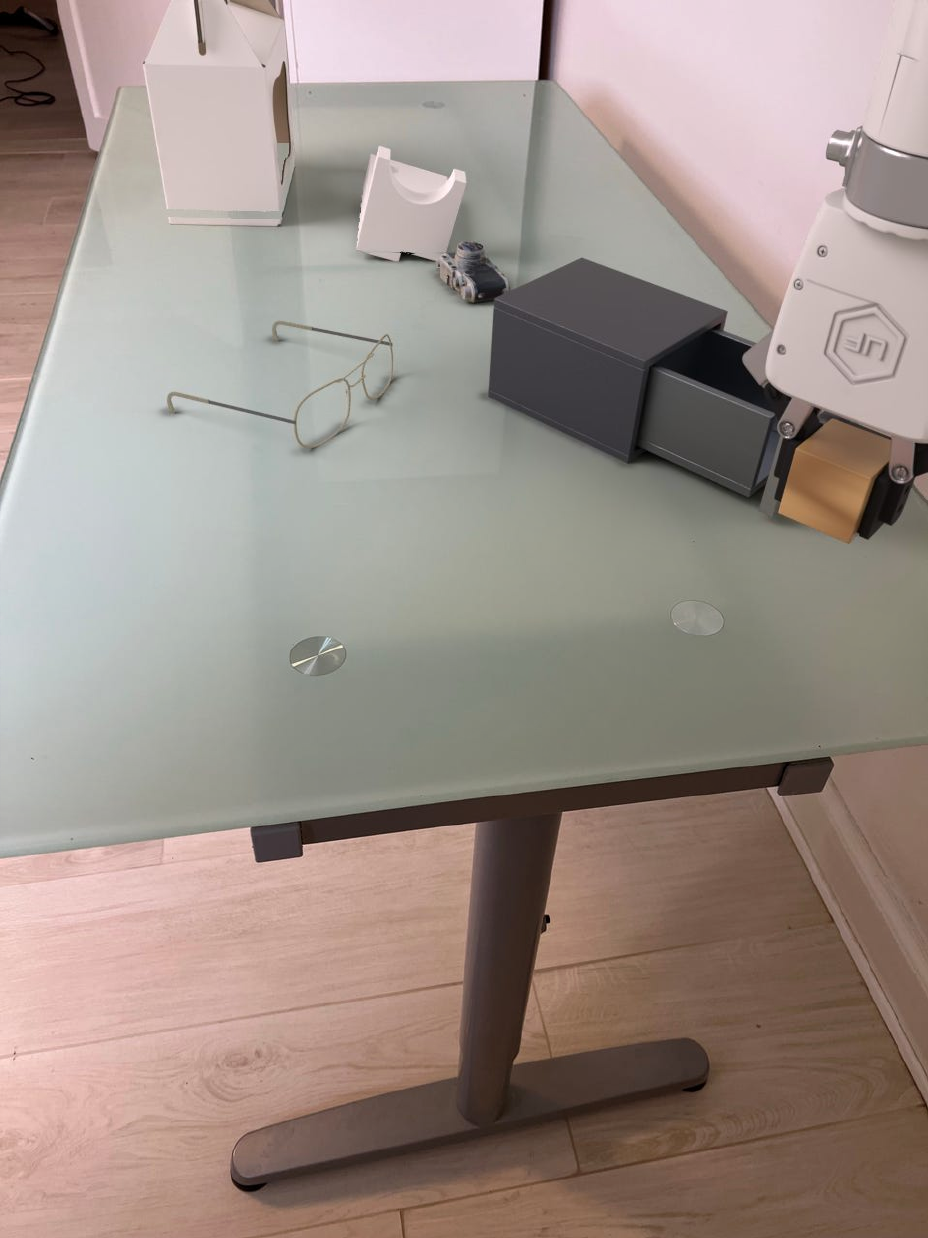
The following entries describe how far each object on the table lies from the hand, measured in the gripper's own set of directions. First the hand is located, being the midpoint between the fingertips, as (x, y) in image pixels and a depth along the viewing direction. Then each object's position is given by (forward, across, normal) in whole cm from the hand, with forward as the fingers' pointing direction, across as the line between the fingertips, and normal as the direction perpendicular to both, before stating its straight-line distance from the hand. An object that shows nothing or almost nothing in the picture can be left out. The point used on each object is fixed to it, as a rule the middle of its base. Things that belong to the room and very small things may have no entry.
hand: (832, 506), depth 57 cm
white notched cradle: (+12, -69, +36) cm, 79 cm away
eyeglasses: (+12, -50, +1) cm, 52 cm away
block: (0, 0, 0) cm, 0 cm away
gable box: (+12, -93, +29) cm, 98 cm away
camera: (+13, -54, +30) cm, 63 cm away
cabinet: (+13, -29, +20) cm, 37 cm away
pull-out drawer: (+12, -13, +20) cm, 26 cm away
